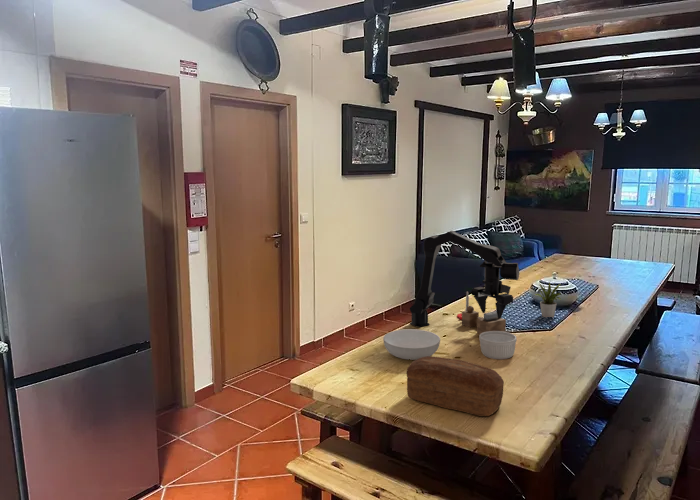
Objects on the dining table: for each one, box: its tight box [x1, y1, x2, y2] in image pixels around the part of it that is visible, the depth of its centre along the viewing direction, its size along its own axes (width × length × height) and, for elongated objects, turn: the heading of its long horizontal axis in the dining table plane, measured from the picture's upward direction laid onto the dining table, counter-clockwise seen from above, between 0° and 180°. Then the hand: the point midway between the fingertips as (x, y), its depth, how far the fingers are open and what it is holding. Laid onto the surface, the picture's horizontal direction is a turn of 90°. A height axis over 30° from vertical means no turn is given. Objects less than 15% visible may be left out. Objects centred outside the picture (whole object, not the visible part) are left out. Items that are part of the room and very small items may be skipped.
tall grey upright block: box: [483, 311, 499, 322], centre depth 216 cm, size 6×2×6 cm, turn 118°
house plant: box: [531, 281, 563, 318], centre depth 237 cm, size 14×14×16 cm
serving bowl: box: [382, 328, 441, 361], centre depth 195 cm, size 21×21×7 cm
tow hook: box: [456, 291, 470, 321], centre depth 240 cm, size 8×13×9 cm
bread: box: [406, 355, 505, 417], centre depth 156 cm, size 14×28×12 cm, turn 57°
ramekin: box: [478, 331, 518, 360], centre depth 193 cm, size 13×13×7 cm
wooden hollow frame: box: [461, 305, 507, 335], centre depth 222 cm, size 9×19×9 cm, turn 28°
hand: (491, 315), depth 216 cm, fingers open, 9 cm apart
